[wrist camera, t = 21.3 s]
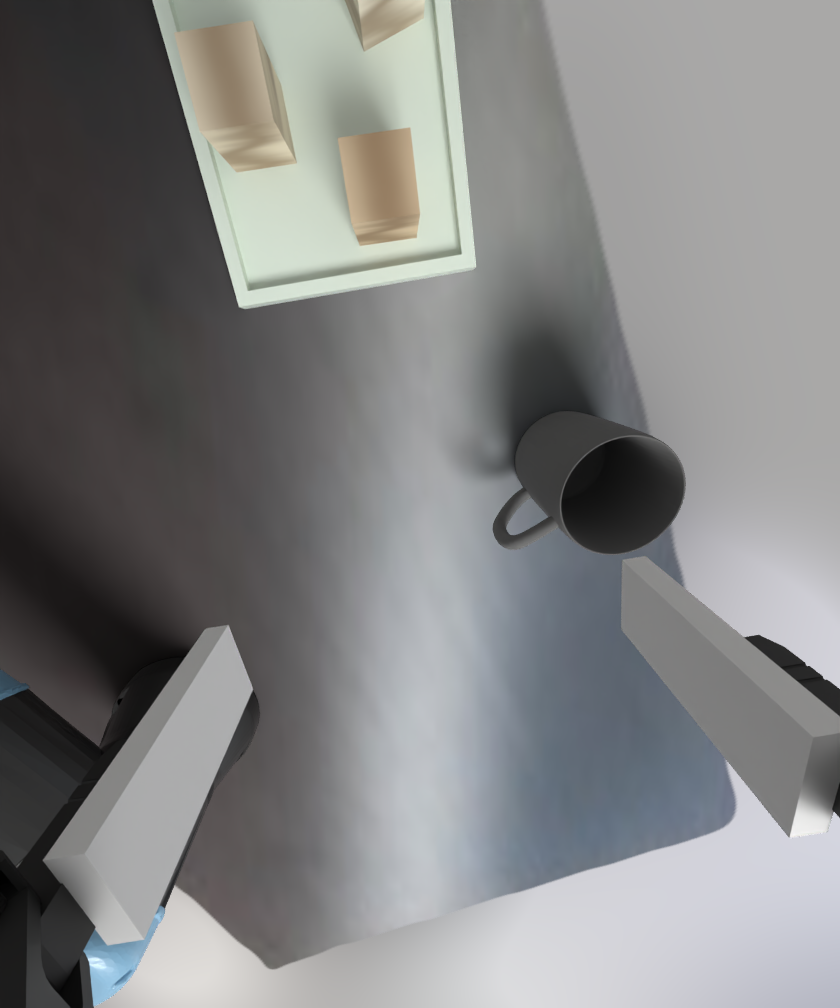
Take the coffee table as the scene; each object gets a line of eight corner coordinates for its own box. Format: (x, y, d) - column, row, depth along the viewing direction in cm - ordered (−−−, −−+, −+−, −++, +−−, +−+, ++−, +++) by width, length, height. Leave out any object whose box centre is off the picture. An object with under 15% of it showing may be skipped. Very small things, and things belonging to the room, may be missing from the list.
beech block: (236, 172, 30) (199, 131, 25) (217, 94, 29) (173, 32, 23) (296, 163, 30) (273, 120, 25) (281, 85, 29) (252, 20, 23)
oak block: (359, 245, 32) (351, 223, 27) (348, 177, 31) (337, 137, 25) (416, 237, 32) (420, 213, 27) (408, 168, 31) (410, 127, 25)
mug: (580, 388, 38) (658, 404, 26) (621, 468, 40) (707, 512, 29) (455, 471, 40) (477, 518, 29) (502, 541, 43) (539, 609, 31)
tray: (245, 308, 34) (239, 307, 33) (147, -44, 27) (133, -66, 25) (472, 270, 34) (476, 266, 32) (436, -96, 27) (438, -121, 25)
